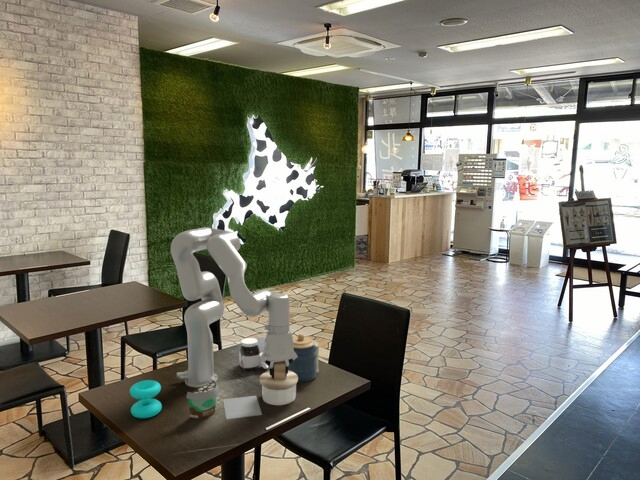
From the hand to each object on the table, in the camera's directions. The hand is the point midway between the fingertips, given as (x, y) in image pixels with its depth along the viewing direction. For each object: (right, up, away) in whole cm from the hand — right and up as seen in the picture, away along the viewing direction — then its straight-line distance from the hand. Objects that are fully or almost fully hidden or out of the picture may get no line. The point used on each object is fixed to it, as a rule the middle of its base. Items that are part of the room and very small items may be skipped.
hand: (278, 375), depth 175 cm
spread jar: (-13, -4, +28) cm, 31 cm away
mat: (-12, -10, -6) cm, 17 cm away
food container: (-23, -10, -11) cm, 28 cm away
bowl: (0, -9, +1) cm, 9 cm away
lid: (0, -2, 0) cm, 2 cm away
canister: (+7, -6, +20) cm, 22 cm away
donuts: (-45, -10, -10) cm, 47 cm away
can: (+10, -5, +25) cm, 27 cm away
